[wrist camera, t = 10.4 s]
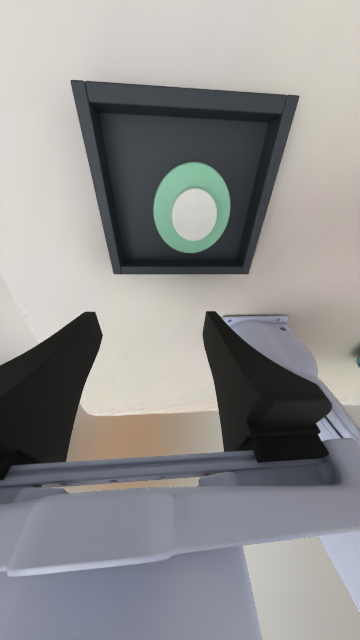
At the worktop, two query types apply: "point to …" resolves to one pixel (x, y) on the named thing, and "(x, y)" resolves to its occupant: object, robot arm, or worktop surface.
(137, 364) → the worktop surface
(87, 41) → the worktop surface
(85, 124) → the dark gray rectangular tray
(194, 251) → the mint green cylinder
